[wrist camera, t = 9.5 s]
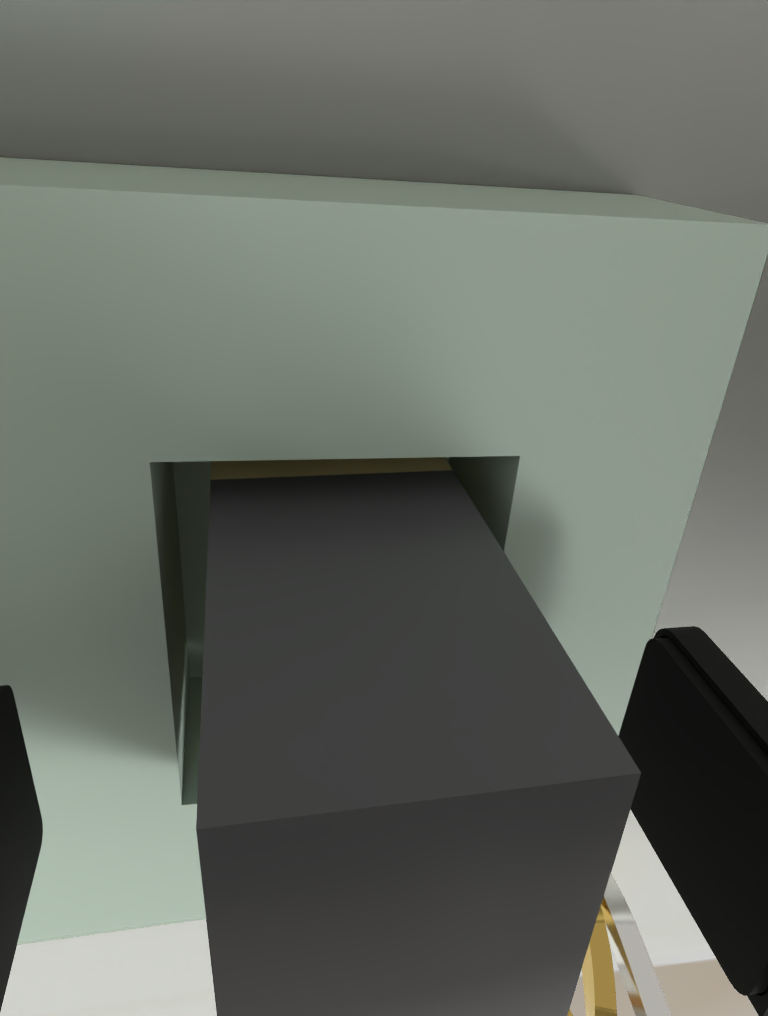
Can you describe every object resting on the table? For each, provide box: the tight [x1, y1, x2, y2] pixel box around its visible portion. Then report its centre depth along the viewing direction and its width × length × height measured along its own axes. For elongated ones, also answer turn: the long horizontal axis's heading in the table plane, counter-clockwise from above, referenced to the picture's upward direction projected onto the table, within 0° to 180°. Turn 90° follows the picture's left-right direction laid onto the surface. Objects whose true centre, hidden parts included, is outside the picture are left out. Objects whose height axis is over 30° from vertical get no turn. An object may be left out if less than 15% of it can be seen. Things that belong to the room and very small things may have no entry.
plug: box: [196, 457, 641, 1016], centre depth 12 cm, size 4×6×9 cm
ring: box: [567, 874, 672, 1016], centre depth 19 cm, size 7×3×8 cm, turn 173°
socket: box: [0, 157, 768, 945], centre depth 13 cm, size 16×14×5 cm
